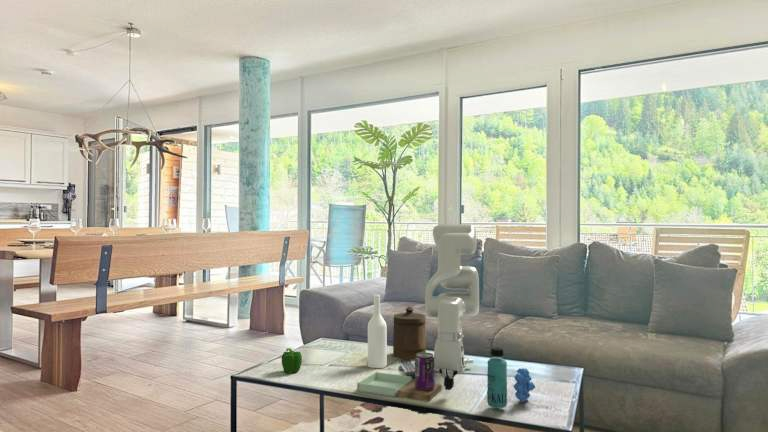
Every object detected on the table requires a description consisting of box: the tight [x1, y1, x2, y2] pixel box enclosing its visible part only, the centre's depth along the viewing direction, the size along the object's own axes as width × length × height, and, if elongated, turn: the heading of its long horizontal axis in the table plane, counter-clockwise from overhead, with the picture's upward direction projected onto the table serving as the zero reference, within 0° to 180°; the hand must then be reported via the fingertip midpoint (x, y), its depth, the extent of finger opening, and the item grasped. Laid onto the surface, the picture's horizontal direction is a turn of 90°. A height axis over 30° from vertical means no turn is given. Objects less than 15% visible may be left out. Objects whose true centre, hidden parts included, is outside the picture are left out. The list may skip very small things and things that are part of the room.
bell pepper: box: [281, 347, 303, 374], centre depth 213 cm, size 8×8×10 cm
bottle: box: [367, 294, 388, 369], centre depth 221 cm, size 8×8×30 cm
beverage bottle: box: [486, 347, 508, 409], centre depth 170 cm, size 6×7×20 cm
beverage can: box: [414, 351, 436, 390], centre depth 185 cm, size 7×7×12 cm
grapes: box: [513, 367, 536, 403], centre depth 176 cm, size 12×7×12 cm, turn 145°
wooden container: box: [392, 306, 427, 360], centre depth 237 cm, size 15×15×22 cm
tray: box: [356, 371, 412, 398], centre depth 192 cm, size 15×15×3 cm
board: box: [396, 379, 443, 402], centre depth 186 cm, size 12×13×2 cm
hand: (448, 388), depth 181 cm, fingers closed
